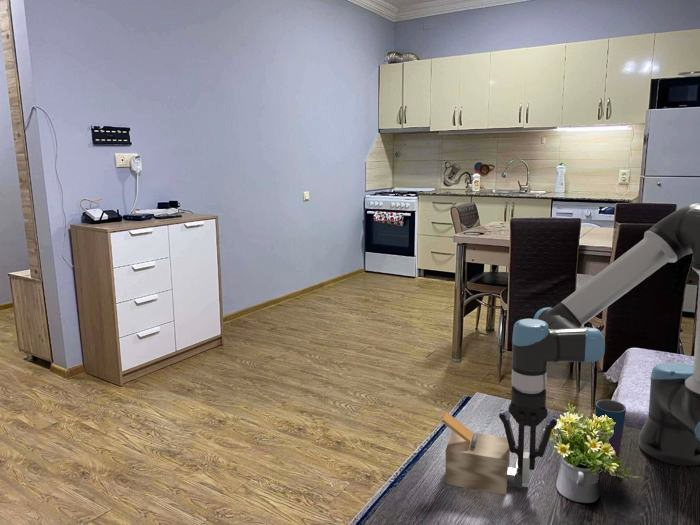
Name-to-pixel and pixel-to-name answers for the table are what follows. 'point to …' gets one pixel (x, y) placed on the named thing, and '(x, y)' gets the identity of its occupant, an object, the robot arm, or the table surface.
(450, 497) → the table surface
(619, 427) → the cup
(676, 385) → the robot arm
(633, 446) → the table surface
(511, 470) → the white l-shaped bar
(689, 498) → the table surface
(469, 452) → the block
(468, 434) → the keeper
